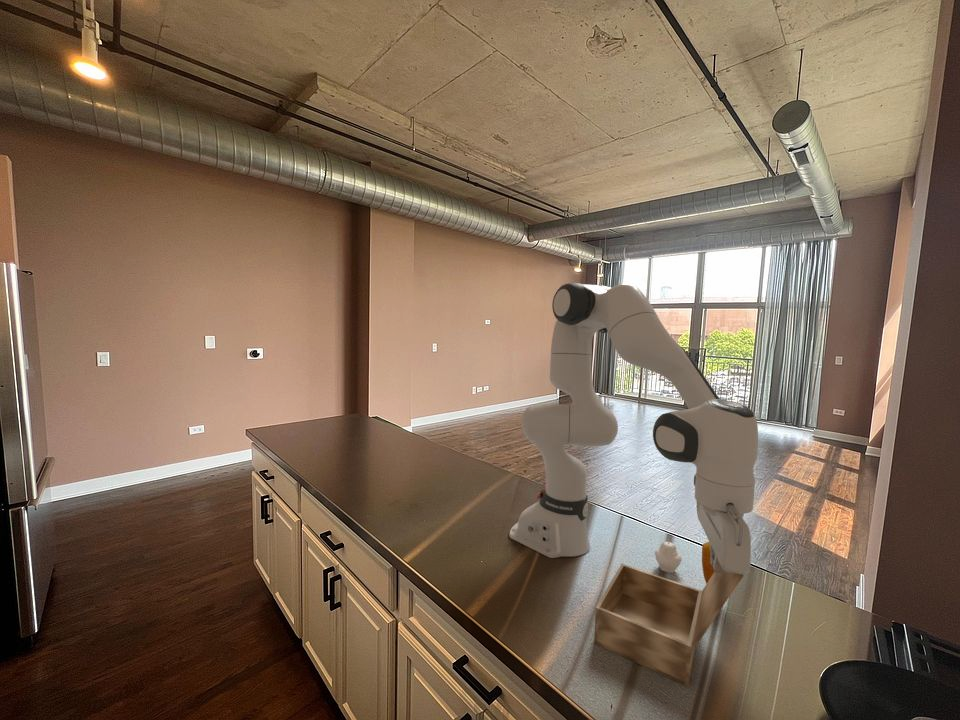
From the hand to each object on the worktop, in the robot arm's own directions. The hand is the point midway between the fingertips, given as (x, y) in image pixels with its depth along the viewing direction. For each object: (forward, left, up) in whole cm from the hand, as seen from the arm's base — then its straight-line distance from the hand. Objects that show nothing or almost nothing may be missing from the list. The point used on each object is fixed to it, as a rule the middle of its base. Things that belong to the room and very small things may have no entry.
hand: (717, 569), depth 71 cm
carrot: (-2, +22, -17) cm, 28 cm away
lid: (0, 0, -3) cm, 3 cm away
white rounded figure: (-12, +26, -17) cm, 33 cm away
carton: (-11, 0, -17) cm, 20 cm away
